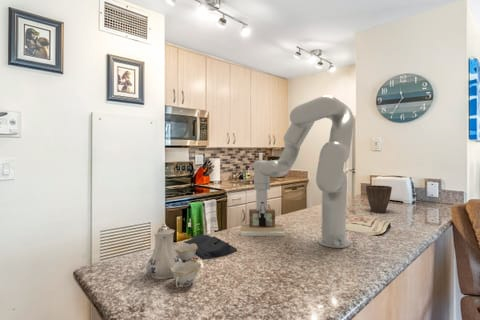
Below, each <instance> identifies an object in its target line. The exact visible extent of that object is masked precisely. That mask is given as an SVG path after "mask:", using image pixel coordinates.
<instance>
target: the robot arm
mask: <svg viewBox="0 0 480 320" xmlns="http://www.w3.org/2000/svg"><path fill="white" fill-rule="evenodd" d="M322 119H329V120H330V121H331V128H330V133H329V139H328V142H326V143H325V144H323V146H322V148H321V150H320V152H319V157H318V164H317V169H316V177H315V181H316V185H317V187H318V189H319V191H321V192H322V193H321V236H320V237H318V238H317V244H319V245H321V246H323V247H326V248H333V249H345V248H348V247H349V246H350V243H351V242H350V240H348V239H347V237H346V236H347V235H346V234H347V233H346V232H347V231H346V215H347V189H348V176H347V174H346V172H345V171H344V167H345V163H346V162H347V161H348V159H349V157H350V155H351V153H350V152H351V146H352V137H353V131H354V130H353V129H354V123H355V122H354V121H355V120H354V115H353V112H352V110H351V108H350V107H349V106H348V105H346V104H345V103H344V102H343V101H341V100H340V99H338V98H336V97H334V96H333V95H329V94H326V95H322V96H319V97H316V98H314V99H311V100H308V101H307V102H304V103H302V104H299V105H297V106H295V107H294V108H293V109H291V111H290V113H289V121H290V125H289V127H288V128H287V130H286V131H285V134H284V136H283V142H284V147H283V151H282V153H281V155H280V157H279V158H278V159H273V160H266V159H262V160H261V159H259V160H255V161H254V163H253V190H255V209H256V211H258V210H259V226H266V217H265V211H267V209H268V191H270V190H271V177H272V178H274V177H276V178H278V177H280V176H285V175H287V174H288V173H289V172H290V171H291V169H292V167H293V165H294V164H295V162H296V160H297V159H298V156H299V153H300V149H301V146H302V145H303V143H304V141H305V139H306V137H308V134H309V133H310V131H311V129H312V128H313V126H314V123H315V122H316V121H320V120H322ZM260 210H261V211H260Z"/></svg>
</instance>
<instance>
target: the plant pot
mask: <svg viewBox="0 0 480 320" xmlns="http://www.w3.org/2000/svg"><path fill="white" fill-rule="evenodd" d="M392 189H393V187H392V186H390V185H389V186H388V185H376V184H375V185H374V184H373V185H372V184H371V185H365V192H366V193H365V194H366V197H367V200H368V205H369V207H370V210H371V212H372V213H375V212H376V214H384V213H386V211H387V208H388V206H389V203H390V201H391V200H390V199H391V196H392Z"/></svg>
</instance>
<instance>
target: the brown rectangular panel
mask: <svg viewBox="0 0 480 320" xmlns="http://www.w3.org/2000/svg"><path fill="white" fill-rule="evenodd" d="M260 211H261V210H260ZM248 215H249V217H248V220H249V221H248V222H249V223H248V224H249V227H253V228H275V224H276V210H275V209H274V208H269V209H268V208H267V211H265V217H266V226H259V210H258V211H256V208H250V209H249V214H248Z"/></svg>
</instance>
